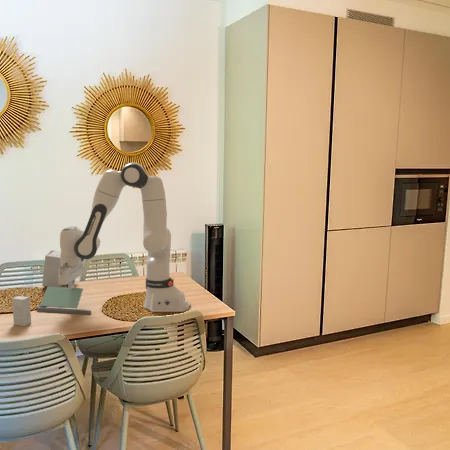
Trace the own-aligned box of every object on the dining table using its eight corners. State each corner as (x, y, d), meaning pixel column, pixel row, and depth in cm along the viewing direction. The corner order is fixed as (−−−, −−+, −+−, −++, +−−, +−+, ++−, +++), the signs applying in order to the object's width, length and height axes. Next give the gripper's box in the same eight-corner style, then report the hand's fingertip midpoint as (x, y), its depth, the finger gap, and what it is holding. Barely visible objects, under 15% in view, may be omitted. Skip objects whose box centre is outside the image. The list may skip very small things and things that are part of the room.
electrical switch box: (68, 292, 256) (72, 257, 253) (41, 288, 256) (45, 253, 253) (77, 284, 271) (80, 251, 268) (51, 280, 270) (54, 247, 267)
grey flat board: (100, 306, 228) (99, 303, 227) (90, 314, 216) (89, 311, 216) (47, 303, 231) (47, 300, 231) (35, 311, 220) (35, 307, 220)
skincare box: (31, 323, 205) (30, 296, 203) (25, 326, 201) (23, 299, 199) (20, 321, 206) (18, 295, 205) (13, 324, 202) (11, 298, 201)
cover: (83, 289, 224) (82, 288, 224) (77, 308, 218) (76, 307, 218) (48, 287, 227) (47, 286, 226) (41, 306, 221) (40, 305, 220)
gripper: (66, 266, 210) (68, 295, 212) (85, 256, 230) (86, 283, 232) (53, 265, 211) (54, 295, 213) (73, 255, 231) (74, 282, 233)
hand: (71, 288), depth 223 cm, fingers closed
